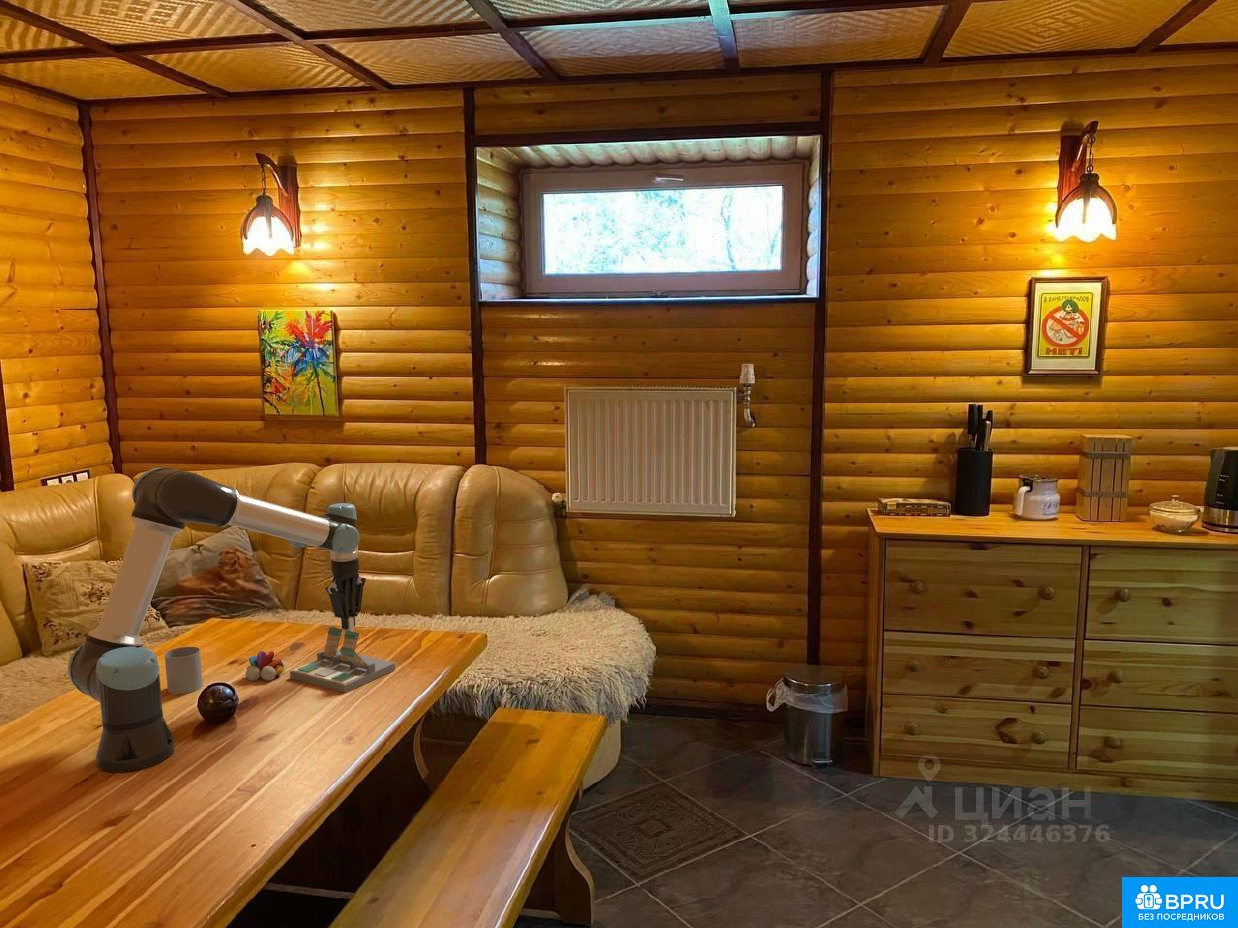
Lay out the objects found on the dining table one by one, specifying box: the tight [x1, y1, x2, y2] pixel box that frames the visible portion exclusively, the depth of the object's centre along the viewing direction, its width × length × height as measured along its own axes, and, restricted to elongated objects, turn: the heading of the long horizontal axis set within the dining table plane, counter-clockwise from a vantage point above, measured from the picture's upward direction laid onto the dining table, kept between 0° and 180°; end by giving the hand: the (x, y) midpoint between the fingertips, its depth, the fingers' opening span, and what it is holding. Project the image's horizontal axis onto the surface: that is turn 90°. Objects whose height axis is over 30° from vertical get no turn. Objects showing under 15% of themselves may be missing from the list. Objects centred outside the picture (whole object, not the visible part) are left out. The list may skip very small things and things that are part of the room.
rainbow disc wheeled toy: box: [245, 650, 285, 682], centre depth 238 cm, size 8×10×7 cm
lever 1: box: [322, 626, 344, 661], centre depth 243 cm, size 1×4×9 cm, turn 60°
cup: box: [164, 646, 204, 696], centre depth 230 cm, size 8×8×10 cm
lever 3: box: [339, 646, 367, 669], centre depth 234 cm, size 1×4×9 cm
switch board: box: [289, 650, 396, 694], centre depth 239 cm, size 18×21×4 cm
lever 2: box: [338, 630, 360, 665], centre depth 240 cm, size 1×4×9 cm, turn 60°
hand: (349, 638), depth 249 cm, fingers closed
